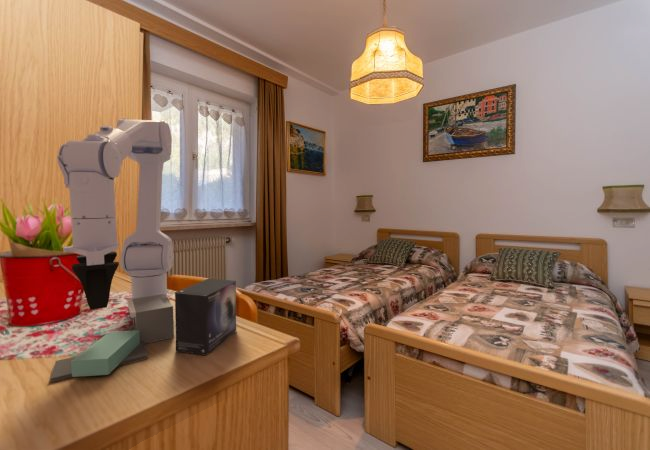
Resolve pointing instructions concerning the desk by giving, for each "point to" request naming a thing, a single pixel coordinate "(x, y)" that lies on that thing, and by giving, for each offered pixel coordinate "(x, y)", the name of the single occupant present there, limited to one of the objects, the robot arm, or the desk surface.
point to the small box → (205, 315)
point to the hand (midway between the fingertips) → (99, 301)
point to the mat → (64, 366)
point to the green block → (105, 353)
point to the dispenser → (152, 317)
